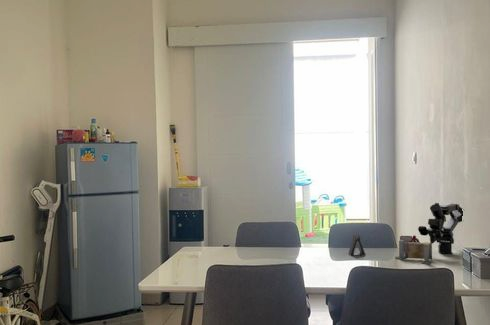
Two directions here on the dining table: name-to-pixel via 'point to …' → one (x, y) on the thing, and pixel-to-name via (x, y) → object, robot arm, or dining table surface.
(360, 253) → the phone stand
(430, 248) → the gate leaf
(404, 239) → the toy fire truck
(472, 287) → the dining table surface
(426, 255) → the gate posts
